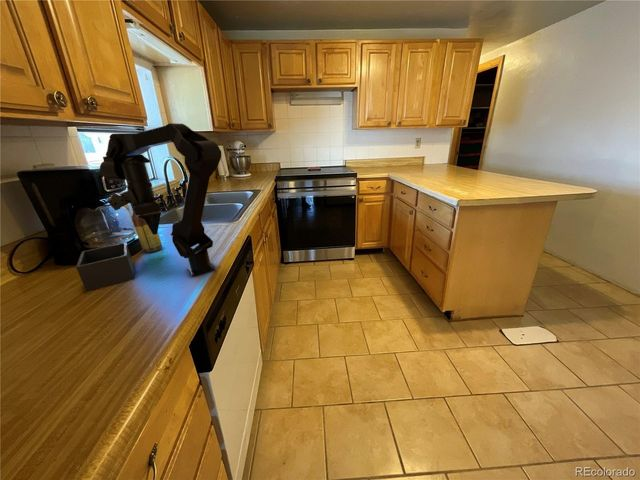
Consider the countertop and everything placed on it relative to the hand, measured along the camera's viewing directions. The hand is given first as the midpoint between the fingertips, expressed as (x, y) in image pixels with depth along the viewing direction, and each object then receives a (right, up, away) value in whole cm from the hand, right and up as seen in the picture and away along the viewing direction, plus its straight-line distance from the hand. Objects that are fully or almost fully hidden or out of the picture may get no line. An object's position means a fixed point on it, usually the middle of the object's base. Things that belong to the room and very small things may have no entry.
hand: (153, 230), depth 82 cm
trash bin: (-12, -14, -1) cm, 18 cm away
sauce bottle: (-11, -7, +16) cm, 21 cm away
